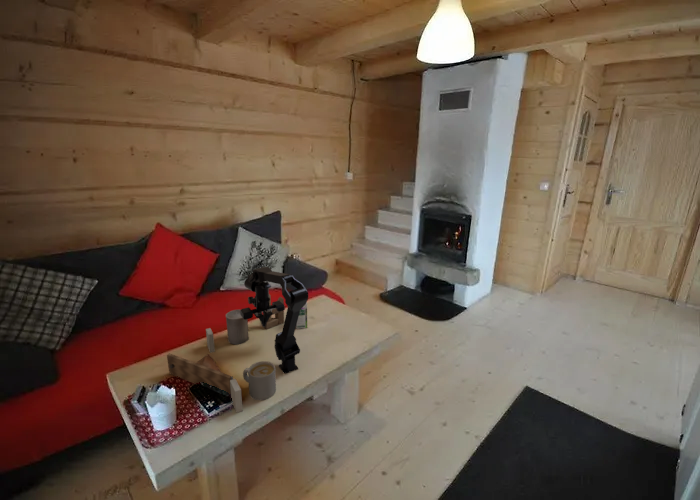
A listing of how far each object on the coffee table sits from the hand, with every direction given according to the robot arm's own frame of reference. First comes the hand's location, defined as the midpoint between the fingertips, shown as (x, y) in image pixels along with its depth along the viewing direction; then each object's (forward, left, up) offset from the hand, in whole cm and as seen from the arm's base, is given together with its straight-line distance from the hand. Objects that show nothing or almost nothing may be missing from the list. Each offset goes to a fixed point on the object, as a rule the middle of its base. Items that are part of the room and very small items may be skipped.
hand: (263, 326), depth 157 cm
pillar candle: (+15, +8, -12) cm, 21 cm away
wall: (-8, +21, -12) cm, 25 cm away
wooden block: (+20, -12, -12) cm, 26 cm away
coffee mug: (-25, +11, -12) cm, 30 cm away
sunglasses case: (-4, +26, -13) cm, 29 cm away
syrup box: (+12, -24, -12) cm, 30 cm away
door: (-11, +30, -12) cm, 34 cm away
